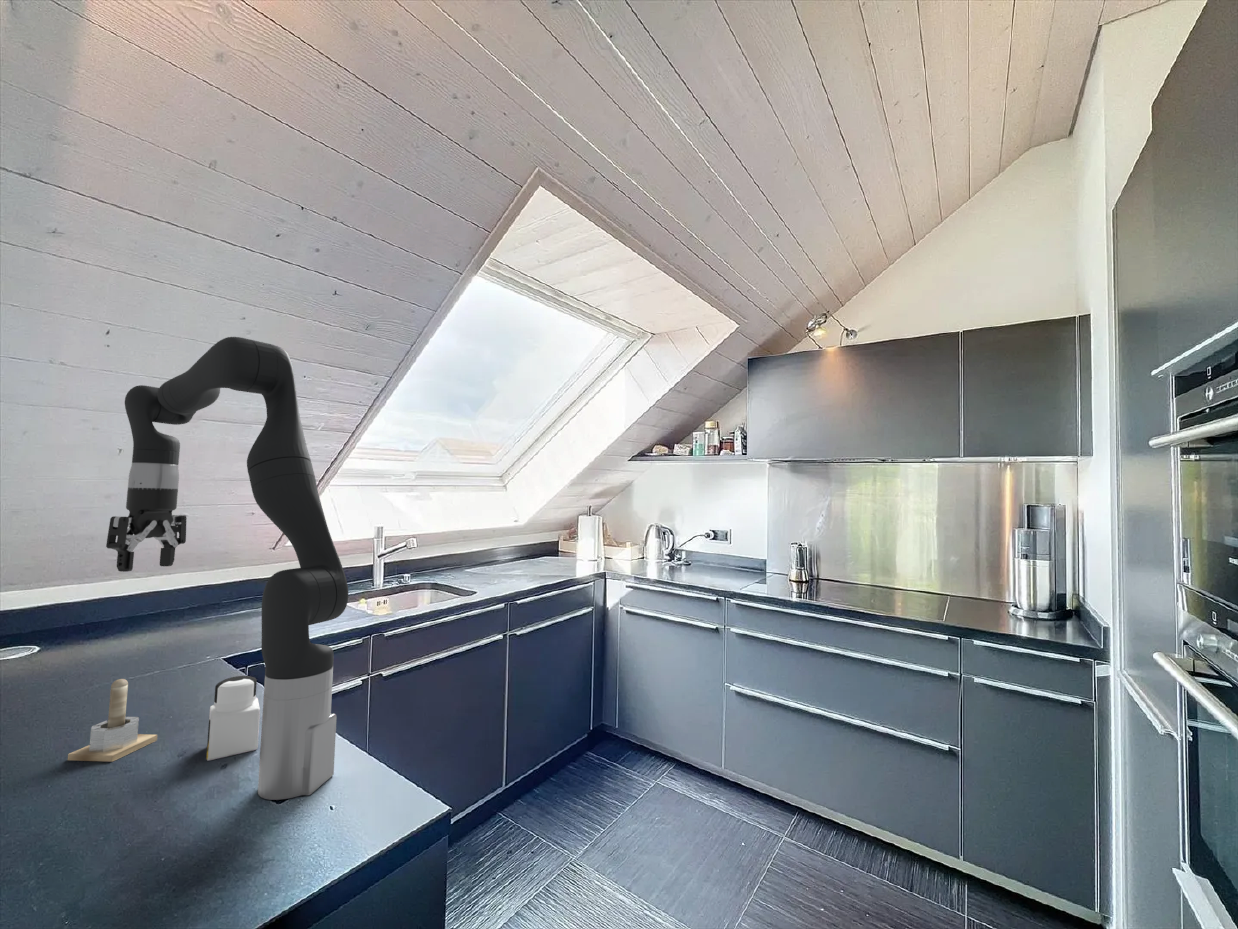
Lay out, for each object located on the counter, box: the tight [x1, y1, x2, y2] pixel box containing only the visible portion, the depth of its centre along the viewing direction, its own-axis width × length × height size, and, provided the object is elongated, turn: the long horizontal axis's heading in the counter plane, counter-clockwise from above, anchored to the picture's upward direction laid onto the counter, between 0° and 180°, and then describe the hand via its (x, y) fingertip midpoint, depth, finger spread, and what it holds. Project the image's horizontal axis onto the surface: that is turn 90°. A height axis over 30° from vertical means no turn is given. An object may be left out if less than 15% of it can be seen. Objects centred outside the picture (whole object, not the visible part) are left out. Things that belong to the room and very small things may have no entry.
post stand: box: [67, 678, 158, 762], centre depth 92 cm, size 8×8×12 cm
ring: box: [89, 716, 140, 753], centre depth 91 cm, size 6×6×4 cm
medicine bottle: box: [206, 675, 261, 761], centre depth 93 cm, size 7×7×12 cm
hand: (146, 568), depth 102 cm, fingers open, 8 cm apart
